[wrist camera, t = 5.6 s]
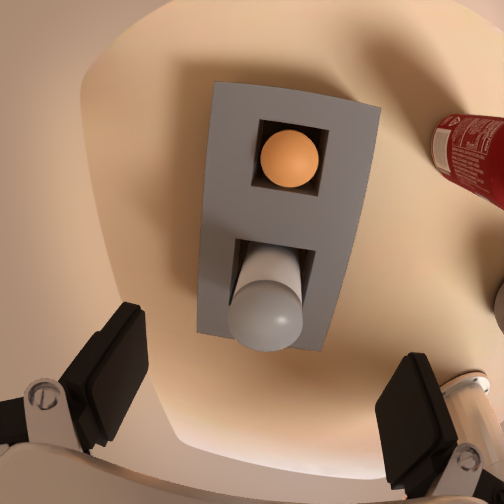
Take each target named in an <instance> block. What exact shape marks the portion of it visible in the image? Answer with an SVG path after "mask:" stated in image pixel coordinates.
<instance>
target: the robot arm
mask: <svg viewBox="0 0 504 504" xmlns="http://www.w3.org/2000/svg"><path fill="white" fill-rule="evenodd" d="M148 366H149V362H148V351H147V338H146V323H145V312H144V311H143V310H141V307H140V306H139V305H136V304H132V303H129V302H123V303H122V304H121V306H120V307H119V308H118V309H117V311H116V312H115V313H114V314H113V316H112V317H111V318H110V320H109V321H108V322H107V323H106V325H105V326H104V327H103V328H102V330H101V331H97V332H95V333H94V334H93V335H92V337H91V338H90V339H89V340H88V342H87V343H86V344H85V346H84V347H83V349H82V350H81V351H80V352H79V354H78V355H77V356H76V357H75V359H74V360H73V361H72V363H71V364H70V366H69V367H68V368H67V369H66V371H65V372H64V374H63V375H62V376H61V378H60V379H59V380H58V382H57V381H55V380H53V379H49V378H44V379H43V378H41V379H38V380H35V381H34V382H32V383H30V384H29V386H28V387H27V388H26V390H25V392H24V397H21V398H16V399H11V400H6V401H1V402H0V504H306V503H290V502H276V501H267V500H258V499H251V498H244V497H238V496H231V495H226V494H220V493H215V492H210V491H205V490H200V489H196V488H191V487H187V486H184V485H180V484H176V483H172V482H168V481H165V480H161V479H158V478H155V477H151V476H148V475H145V474H142V473H138V472H135V471H132V470H129V469H126V468H124V467H121V466H118V465H115V464H112V463H109V462H107V461H104V460H102V459H99V458H96V457H93V455H92V452H91V449H93V447H94V445H95V443H96V444H98V445H101V446H103V447H105V446H106V444H107V442H108V441H113V439H114V438H115V436H116V434H117V431H118V429H119V427H120V425H121V423H122V421H123V419H124V417H125V415H126V413H127V411H128V409H129V407H130V405H131V403H132V401H133V399H134V397H135V395H136V393H137V391H138V389H139V387H140V385H141V383H142V381H143V379H144V377H145V375H146V373H147V371H148ZM489 390H490V381H489V379H488V377H487V376H486V375H485V374H484V373H480V372H473V373H467V374H464V375H461V376H459V377H457V378H454V379H453V380H451V381H449V382H447V383H446V384H444V385H443V386H441V387H439V385H438V382H437V380H436V378H435V375H434V373H433V371H432V368H431V366H430V364H429V361H428V359H427V357H426V355H425V354H424V353H414V352H411V353H409V354H408V355H407V356H404V357H403V359H402V361H401V362H400V364H399V366H398V368H397V369H396V371H395V373H394V375H393V376H392V378H391V380H390V381H389V383H388V385H387V386H386V388H385V389H384V391H383V393H382V394H381V396H380V397H379V399H378V400H377V402H376V405H375V413H376V418H377V423H378V429H379V434H380V440H381V446H382V452H383V458H384V465H385V471H386V479H387V482H388V483H390V484H391V490H396V489H405V495H404V496H403V498H402V499H401V500H399V501H387V502H375V503H358V504H504V434H503V431H502V429H501V427H500V424H499V422H498V420H497V418H496V415H495V413H494V411H493V409H492V407H491V405H490V402H489V400H488V398H487V395H488V393H489Z"/></svg>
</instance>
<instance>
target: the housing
mask: <svg viewBox="0 0 504 504" xmlns="http://www.w3.org/2000/svg"><path fill="white" fill-rule="evenodd" d="M380 112H381V108H380V107H376V106H372V105H368V104H364V103H360V102H356V101H351V100H347V99H342V98H337V97H333V96H328V95H322V94H317V93H311V92H305V91H299V90H293V89H286V88H279V87H271V86H263V85H254V84H243V83H231V82H217V81H214V89H213V97H212V106H211V115H210V124H209V134H208V144H207V155H206V166H205V178H204V191H203V204H202V219H201V235H200V253H199V273H198V299H197V333H202V334H208V335H213V336H218V337H224V338H230V339H235V338H234V337H233V336H232V334H231V332H230V330H229V328H228V323H227V318H228V313H229V310H230V306H231V303H232V300H233V296H234V293H235V289H236V286H237V282H238V279H239V278H237V271H238V262H239V254H240V245H241V239H243V240H249V241H256V242H262V243H269V244H275V245H282V246H288V247H295V248H301V249H307V254H306V259H305V264H304V268H303V273H302V277H301V298H302V318H303V326H302V331H301V333H300V335H299V337H298V338H297V340H296V341H295V342H294V343H292V344H291V345H290V346H288V347H289V348H296V349H304V350H313V351H321V349H322V346H323V343H324V340H325V337H326V334H327V331H328V328H329V325H330V322H331V319H332V316H333V313H334V309H335V306H336V303H337V300H338V296H339V293H340V290H341V286H342V283H343V279H344V276H345V272H346V269H347V265H348V261H349V258H350V254H351V250H352V247H353V243H354V239H355V235H356V231H357V227H358V223H359V219H360V214H361V210H362V206H363V201H364V197H365V192H366V188H367V183H368V178H369V173H370V169H371V163H372V158H373V153H374V148H375V142H376V136H377V131H378V125H379V118H380ZM264 120H270V121H277V122H284V123H291V124H297V125H303V126H309V127H315V128H320V129H321V135H320V142H319V148H318V160H319V161H318V167H317V170H316V172H315V174H314V178H313V183H311V182H306V183H305V184H303V185H300V186H297V187H283V186H280V185H277V184H275V183H274V182H272V181H271V180H270V179H269V178H268V177H267V176H266V175H260V174H257V169H258V161H259V153H260V145H261V138H262V130H263V122H264Z"/></svg>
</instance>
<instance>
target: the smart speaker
mask: <svg viewBox="0 0 504 504" xmlns="http://www.w3.org/2000/svg"><path fill="white" fill-rule="evenodd" d="M494 312H495V318H496V321H497V323H498V325H499V327H500V329H501V331H502V332H503V334H504V282H503V284H502V285H501V287H500V289H499V291H498V293H497V296H496V299H495V305H494Z"/></svg>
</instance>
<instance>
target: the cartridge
mask: <svg viewBox="0 0 504 504" xmlns="http://www.w3.org/2000/svg"><path fill="white" fill-rule="evenodd" d="M227 323H228V328H229V330H230V332H231V334H232V336H233V337H234V338H235V339H236V340H237V341H238V342H239V343H240V344H242V345H243V346H245V347H247V348H249V349H252V350H256V351H261V352H272V351H278V350H281V349H284V348H286V347H288V346H290V345H291V344H292V343H294V342H295V341H296V340H297V338H298V337H299V335H300V333H301V331H302V326H303V318H302V298H301V281H300V265H299V251H298V248H295V247H288V246H282V245H275V244H269V243H262V242H256V241H250V243H249V245H248V248H247V252H246V255H245V258H244V262H243V265H242V269H241V272H240V276H239V279H238V282H237V286H236V289H235V293H234V296H233V300H232V303H231V306H230V310H229V313H228V318H227Z"/></svg>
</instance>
